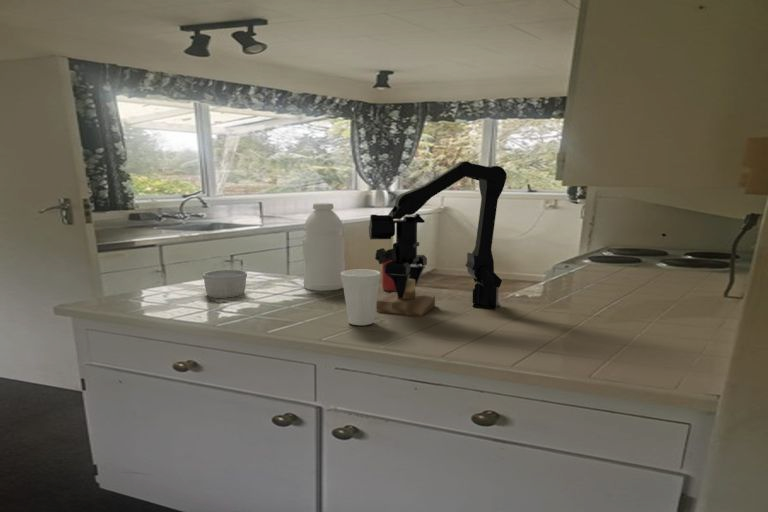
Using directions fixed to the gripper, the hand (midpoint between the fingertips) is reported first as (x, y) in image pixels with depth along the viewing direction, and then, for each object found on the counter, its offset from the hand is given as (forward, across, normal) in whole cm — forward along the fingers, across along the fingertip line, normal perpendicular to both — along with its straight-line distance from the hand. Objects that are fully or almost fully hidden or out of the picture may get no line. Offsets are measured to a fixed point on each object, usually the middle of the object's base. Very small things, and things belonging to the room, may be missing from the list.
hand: (406, 294), depth 148 cm
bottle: (+4, -17, -36) cm, 40 cm away
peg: (+4, 0, 0) cm, 4 cm away
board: (+4, 0, 0) cm, 4 cm away
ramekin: (+4, +5, -59) cm, 59 cm away
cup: (+4, +18, -5) cm, 20 cm away
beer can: (+4, -22, -13) cm, 26 cm away
